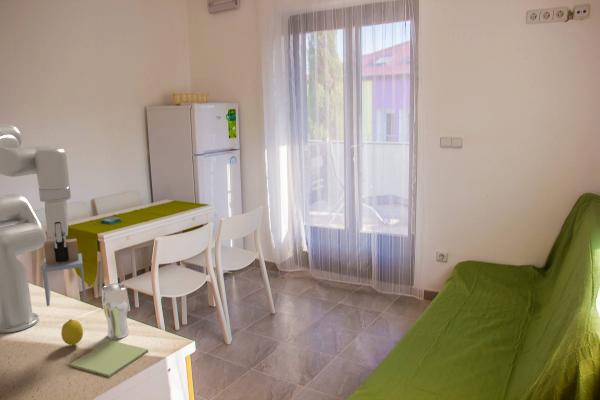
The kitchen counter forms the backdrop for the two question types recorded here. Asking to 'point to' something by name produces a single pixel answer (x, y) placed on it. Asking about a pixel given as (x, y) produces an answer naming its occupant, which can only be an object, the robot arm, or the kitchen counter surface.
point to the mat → (109, 358)
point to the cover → (61, 263)
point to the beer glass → (115, 310)
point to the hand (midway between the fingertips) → (62, 258)
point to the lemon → (72, 332)
